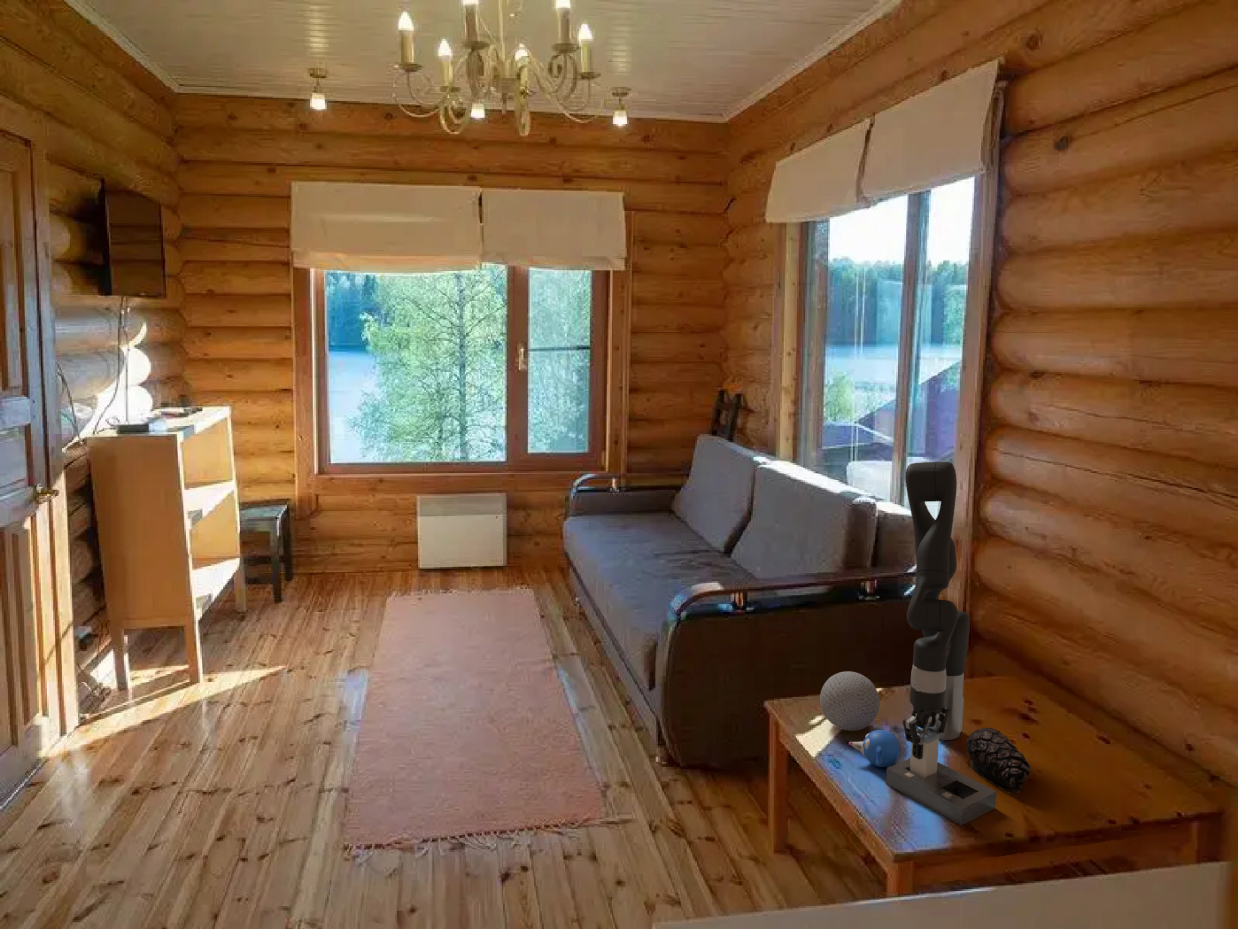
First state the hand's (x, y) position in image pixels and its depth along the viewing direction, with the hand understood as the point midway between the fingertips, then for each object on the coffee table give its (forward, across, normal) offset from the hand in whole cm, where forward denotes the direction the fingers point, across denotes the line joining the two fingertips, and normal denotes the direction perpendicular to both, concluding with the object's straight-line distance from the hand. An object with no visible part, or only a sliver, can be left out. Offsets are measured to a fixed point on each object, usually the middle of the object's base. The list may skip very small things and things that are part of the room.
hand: (924, 754), depth 203 cm
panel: (+8, 0, +5) cm, 9 cm away
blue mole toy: (+8, +1, -13) cm, 15 cm away
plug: (+5, 0, 0) cm, 5 cm away
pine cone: (+8, -19, +8) cm, 22 cm away
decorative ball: (+8, -8, -29) cm, 31 cm away
